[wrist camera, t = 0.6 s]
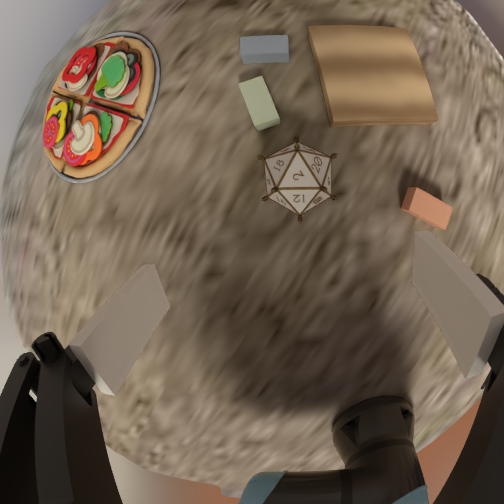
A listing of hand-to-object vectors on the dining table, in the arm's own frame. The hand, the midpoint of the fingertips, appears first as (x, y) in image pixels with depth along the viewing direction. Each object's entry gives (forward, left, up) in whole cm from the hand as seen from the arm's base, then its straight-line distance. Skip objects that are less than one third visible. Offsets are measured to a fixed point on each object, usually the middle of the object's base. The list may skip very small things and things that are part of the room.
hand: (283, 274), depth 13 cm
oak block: (+18, -13, -21) cm, 31 cm away
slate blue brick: (+23, 0, -21) cm, 32 cm away
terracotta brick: (0, -17, -21) cm, 28 cm away
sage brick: (+15, +2, -21) cm, 26 cm away
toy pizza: (+25, +29, -22) cm, 44 cm away
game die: (+5, -1, -21) cm, 22 cm away
